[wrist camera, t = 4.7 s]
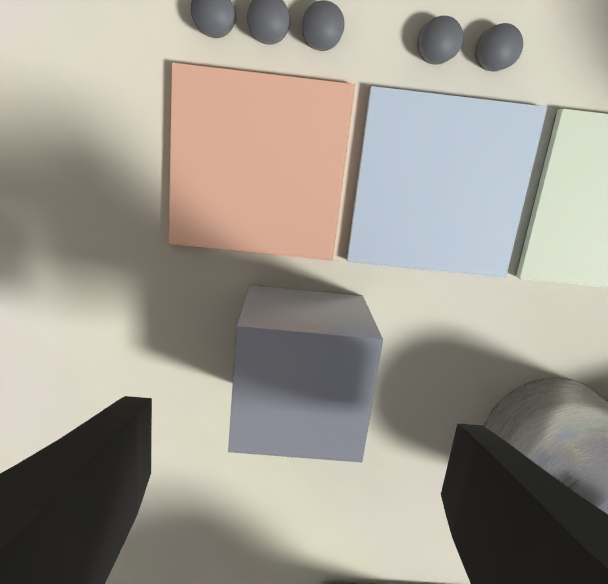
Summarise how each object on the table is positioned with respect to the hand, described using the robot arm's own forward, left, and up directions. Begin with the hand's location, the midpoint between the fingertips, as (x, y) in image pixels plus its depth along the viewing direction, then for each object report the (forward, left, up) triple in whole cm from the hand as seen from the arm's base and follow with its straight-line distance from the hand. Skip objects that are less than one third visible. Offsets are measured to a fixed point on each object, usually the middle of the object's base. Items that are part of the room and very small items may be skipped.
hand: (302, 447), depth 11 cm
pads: (+7, -4, -6) cm, 10 cm away
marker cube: (0, 0, -6) cm, 6 cm away
